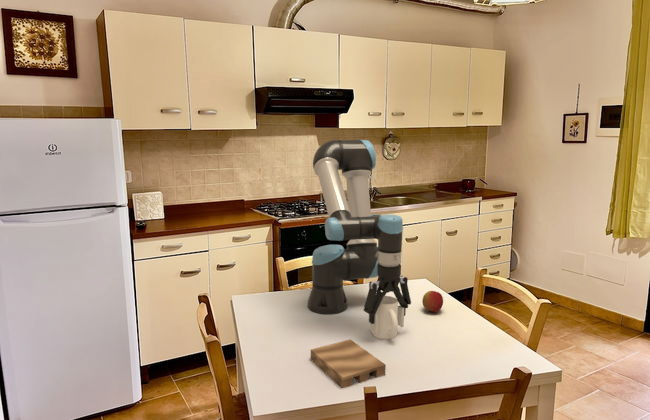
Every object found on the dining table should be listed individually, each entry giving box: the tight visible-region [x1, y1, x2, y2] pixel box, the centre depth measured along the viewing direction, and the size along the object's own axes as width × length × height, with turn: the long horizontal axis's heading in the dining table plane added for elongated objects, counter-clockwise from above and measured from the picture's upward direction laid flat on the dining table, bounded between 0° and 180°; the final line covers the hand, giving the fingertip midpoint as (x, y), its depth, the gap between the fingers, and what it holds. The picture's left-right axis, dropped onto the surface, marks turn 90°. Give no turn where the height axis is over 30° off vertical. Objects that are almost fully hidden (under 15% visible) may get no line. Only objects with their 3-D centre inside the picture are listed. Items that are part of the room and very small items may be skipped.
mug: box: [372, 295, 399, 340], centre depth 154 cm, size 8×12×12 cm
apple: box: [422, 290, 444, 313], centre depth 176 cm, size 8×8×8 cm
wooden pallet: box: [310, 339, 387, 389], centre depth 136 cm, size 18×14×3 cm
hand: (387, 328), depth 155 cm, fingers open, 10 cm apart
